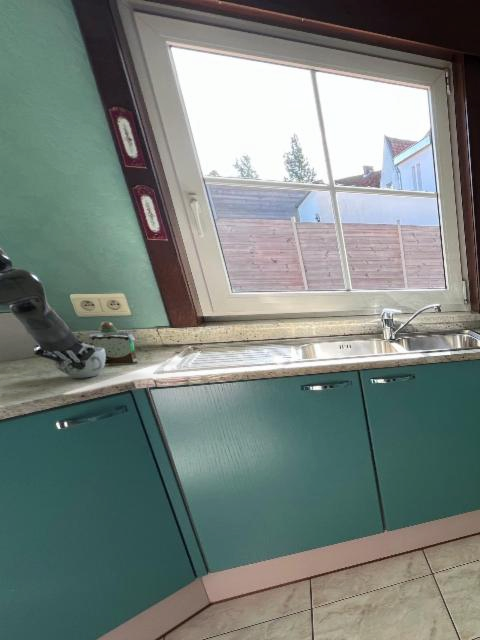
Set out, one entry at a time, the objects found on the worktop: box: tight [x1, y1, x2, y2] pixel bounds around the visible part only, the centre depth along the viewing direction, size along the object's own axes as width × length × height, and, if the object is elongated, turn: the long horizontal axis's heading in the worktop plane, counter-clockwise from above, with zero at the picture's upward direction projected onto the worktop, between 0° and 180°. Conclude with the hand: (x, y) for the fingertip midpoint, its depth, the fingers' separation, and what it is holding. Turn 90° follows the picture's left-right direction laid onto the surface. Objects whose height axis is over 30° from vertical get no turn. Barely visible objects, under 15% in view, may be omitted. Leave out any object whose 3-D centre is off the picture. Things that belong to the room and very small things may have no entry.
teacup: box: [49, 347, 106, 379], centre depth 150 cm, size 15×12×8 cm
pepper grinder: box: [98, 320, 119, 333], centre depth 178 cm, size 5×5×12 cm
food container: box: [88, 331, 138, 365], centre depth 169 cm, size 12×6×10 cm, turn 100°
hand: (80, 366), depth 146 cm, fingers closed
